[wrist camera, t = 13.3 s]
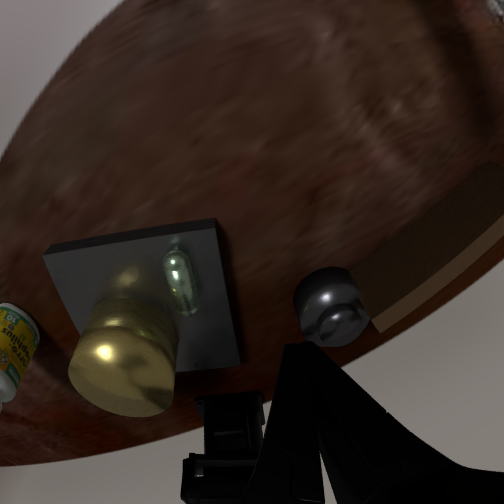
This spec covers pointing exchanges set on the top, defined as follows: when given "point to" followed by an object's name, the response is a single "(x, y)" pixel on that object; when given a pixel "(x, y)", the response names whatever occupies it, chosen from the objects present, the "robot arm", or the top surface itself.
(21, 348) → the supplement bottle
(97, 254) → the plate
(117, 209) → the top surface
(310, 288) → the brown bar with knob
